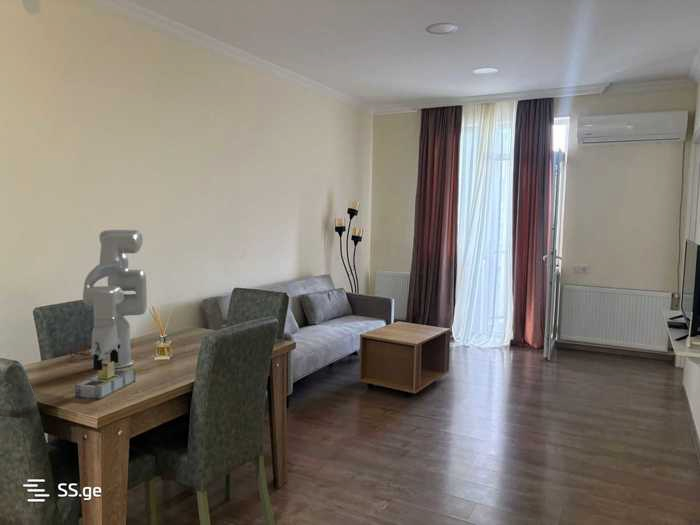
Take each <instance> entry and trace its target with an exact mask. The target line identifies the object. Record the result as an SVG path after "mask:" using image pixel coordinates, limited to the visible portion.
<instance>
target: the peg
mask: <svg viewBox="0 0 700 525" xmlns="http://www.w3.org/2000/svg"><path fill="white" fill-rule="evenodd" d="M114 369H115V368H114V361H105V360H102V370H97V376H98V379H99V380H110V379H112V378H114Z"/></svg>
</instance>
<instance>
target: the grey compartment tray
mask: <svg viewBox="0 0 700 525" xmlns="http://www.w3.org/2000/svg"><path fill="white" fill-rule="evenodd" d="M133 383H136V370H134V369H133V370H132V369H123V368H114V378H112V379H110V380H99V379H98V375H95V376H93V377H91V378H89V379H86V380H85V381H82V382H79V383H78V384H75V385H74V397H77V398H76V399H86V398H89V400H98V399H100V400H102V399H104V398H105V396H106V397H108V396H110V395H112V394H114V393H116V392H118V391H120V390H122V389H123V388H125V387H127V386H129V385H132V384H133ZM121 388H122V389H121ZM119 389H120V390H119ZM117 390H118V391H117ZM115 391H116V392H115ZM113 392H114V393H113ZM111 393H112V394H111ZM109 394H110V395H109ZM107 395H108V396H107ZM103 397H104V398H103ZM101 398H102V399H101Z"/></svg>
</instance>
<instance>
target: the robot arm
mask: <svg viewBox="0 0 700 525" xmlns="http://www.w3.org/2000/svg"><path fill="white" fill-rule="evenodd" d="M99 243H100V256H99V263H98V265H96V266H95V267H94V268H93V269H91V271H90V272H89V273H88V274H87V275H86V277H85V280H84V285H83V291H82V292H83V293H82V299H83V300H82V301H83V303H84V304H85V305H86V306H89V307H93V328H92V334H91V346H92V348H90V349H89V351H88V352H89V353H88V354H90V355H89V356H90V358H92V360H93V370H94V371H98V370H102V361H114V369H123V368H127V367H131V366H133V365H134V364H135V359H132V358H131V357H132V356H131V353H132V352H131V326H130V323H129V321H128V319H126V318H125V317H126V316H127V317H128V316H142V315H144V314H145V313H146V311H147V305H148V304H147V298H148V296H147V277H146V273H145V272H144V271H143V270H142V269H130V268H129V258H128V256H127V255H126V254H137V253H138V252H139V251H140V249H141V248H142V245H143V235H142V232H141V231H140V230H136V229H107V230H102V231H101V232H100V233H99ZM104 278H107V285H103V286H102V285H100V286H94V285H95V284H96V283H97V282H99V281H100V280H102V279H104ZM125 292H134V293H125Z"/></svg>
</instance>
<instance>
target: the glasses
mask: <svg viewBox="0 0 700 525" xmlns="http://www.w3.org/2000/svg"><path fill="white" fill-rule="evenodd" d="M84 346H85V347H84ZM83 348H84V350H83ZM87 348H90V349H91V348H92V345H88V344H87V343H83V344H82V345H81V347H78V348H77V347H74V348H72V350H71V353H70V357H71V356H73V355H76V356H77V355H80V356H84V357H85V356H86V357H87V356H91V355H90V353H85V352H86V351H87ZM79 350H80V352H78V351H79ZM81 352H84V353H81Z"/></svg>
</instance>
